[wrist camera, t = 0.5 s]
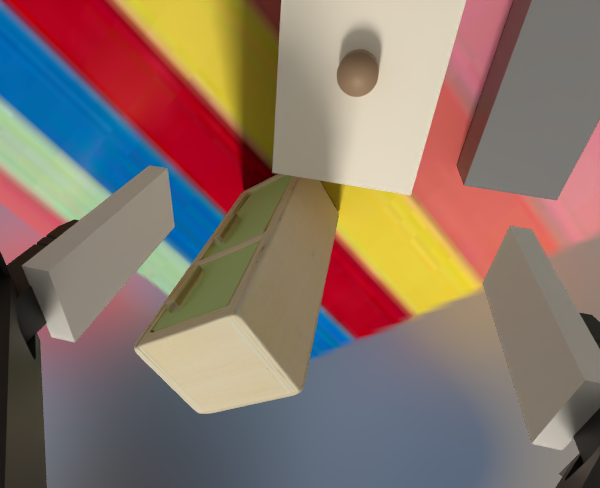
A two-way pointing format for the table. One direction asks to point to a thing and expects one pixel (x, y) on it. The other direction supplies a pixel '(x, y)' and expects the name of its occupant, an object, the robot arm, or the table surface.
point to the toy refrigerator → (248, 300)
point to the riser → (536, 100)
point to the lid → (360, 88)
